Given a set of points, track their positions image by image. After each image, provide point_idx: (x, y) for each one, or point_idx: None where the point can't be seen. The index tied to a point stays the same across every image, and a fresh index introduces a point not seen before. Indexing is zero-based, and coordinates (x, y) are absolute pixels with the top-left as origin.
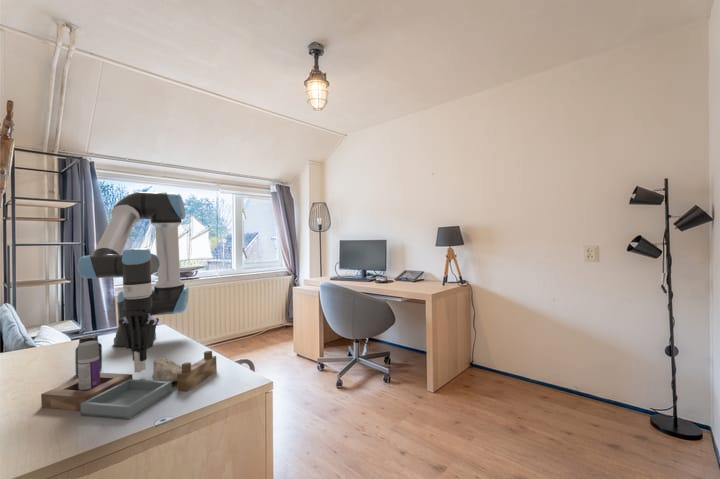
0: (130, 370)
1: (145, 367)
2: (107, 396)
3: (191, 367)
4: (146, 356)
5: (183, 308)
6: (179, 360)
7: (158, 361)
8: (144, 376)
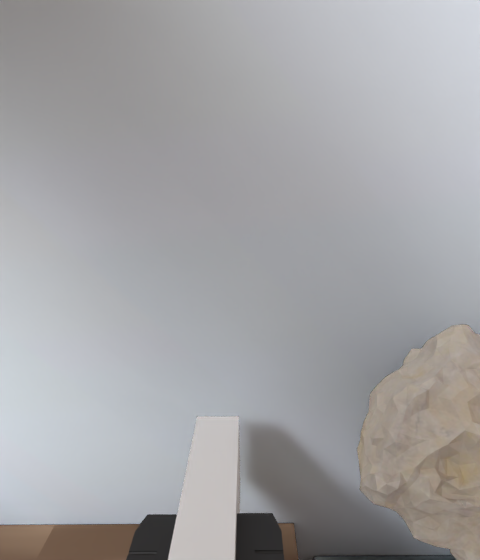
0: (10, 319)
1: (238, 427)
2: None
3: None
4: (282, 553)
5: None
6: (279, 13)
7: (464, 537)
8: (242, 398)
